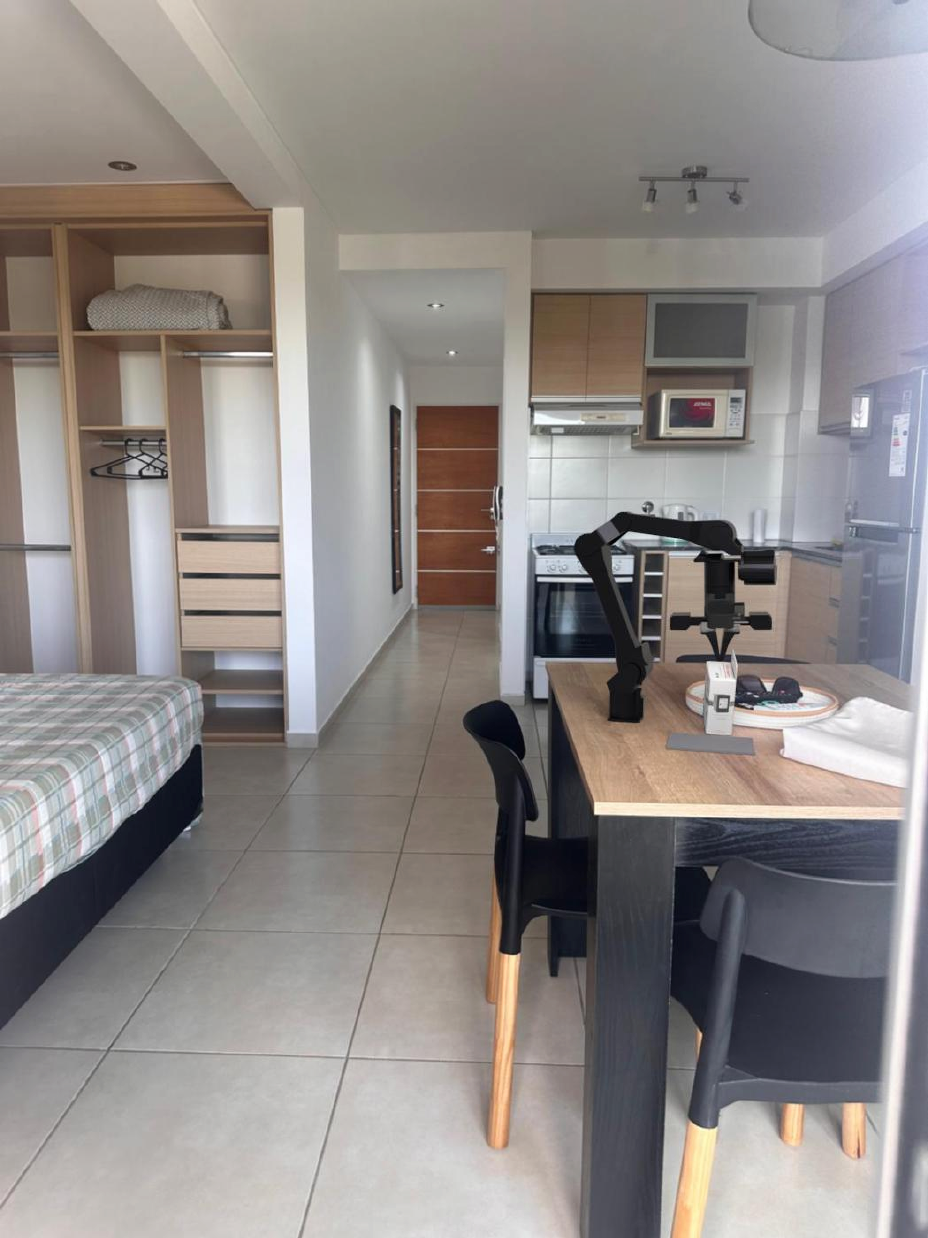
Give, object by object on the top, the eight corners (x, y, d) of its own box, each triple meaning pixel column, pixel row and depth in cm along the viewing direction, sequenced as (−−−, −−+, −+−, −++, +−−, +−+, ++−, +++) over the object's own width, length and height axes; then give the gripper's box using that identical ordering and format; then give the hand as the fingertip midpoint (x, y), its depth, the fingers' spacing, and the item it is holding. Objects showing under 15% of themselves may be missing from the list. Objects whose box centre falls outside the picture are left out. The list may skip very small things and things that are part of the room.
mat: (666, 749, 149) (666, 746, 149) (669, 734, 159) (669, 732, 159) (754, 755, 145) (754, 753, 145) (752, 740, 155) (752, 737, 154)
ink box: (701, 714, 166) (707, 646, 161) (727, 715, 165) (733, 647, 160) (705, 734, 158) (710, 663, 153) (732, 736, 158) (738, 665, 152)
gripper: (668, 591, 155) (669, 673, 157) (774, 589, 150) (774, 674, 152) (670, 584, 165) (671, 661, 168) (769, 582, 160) (769, 661, 163)
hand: (719, 664), depth 162 cm, fingers closed, pressing on ink box
